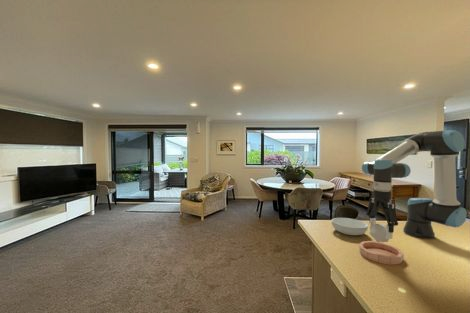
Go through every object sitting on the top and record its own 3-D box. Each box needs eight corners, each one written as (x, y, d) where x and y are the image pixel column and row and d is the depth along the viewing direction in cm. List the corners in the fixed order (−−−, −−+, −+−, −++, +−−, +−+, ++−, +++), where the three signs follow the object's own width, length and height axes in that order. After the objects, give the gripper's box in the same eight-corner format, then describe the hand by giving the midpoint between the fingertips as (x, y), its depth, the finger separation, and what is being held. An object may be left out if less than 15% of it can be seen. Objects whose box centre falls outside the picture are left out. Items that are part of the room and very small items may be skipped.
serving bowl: (368, 231, 142) (368, 220, 142) (367, 242, 125) (367, 230, 124) (333, 225, 153) (333, 215, 153) (328, 234, 136) (328, 223, 136)
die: (391, 247, 102) (398, 228, 105) (373, 236, 104) (380, 218, 107) (380, 246, 110) (386, 229, 113) (363, 236, 112) (370, 219, 115)
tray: (381, 246, 119) (382, 240, 119) (412, 263, 101) (412, 256, 101) (351, 248, 117) (351, 241, 117) (377, 265, 99) (377, 258, 99)
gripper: (359, 186, 119) (358, 226, 119) (394, 194, 96) (392, 244, 97) (372, 186, 119) (370, 226, 120) (409, 194, 97) (407, 243, 98)
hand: (380, 234), depth 108 cm, fingers closed on die, 10 cm apart
